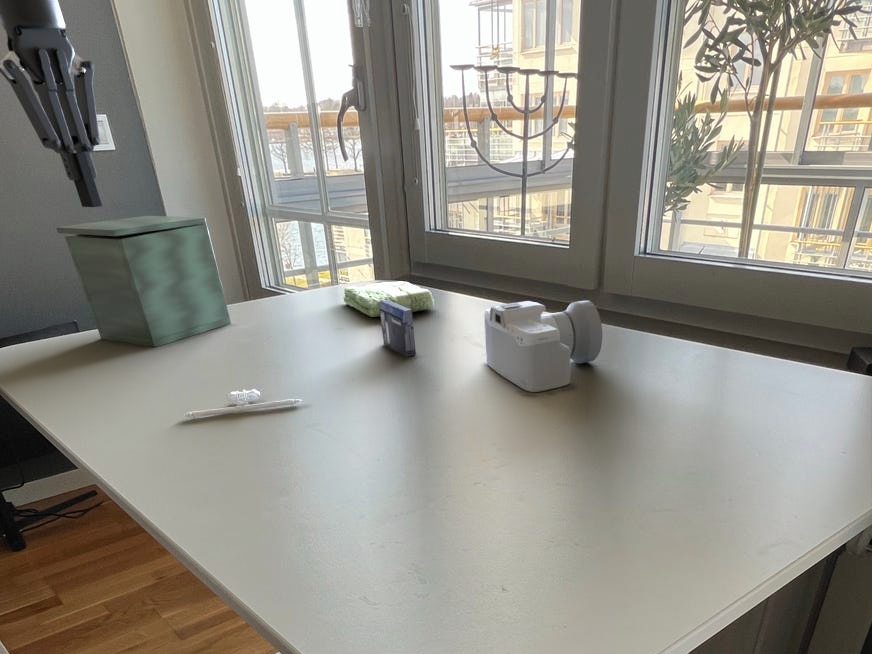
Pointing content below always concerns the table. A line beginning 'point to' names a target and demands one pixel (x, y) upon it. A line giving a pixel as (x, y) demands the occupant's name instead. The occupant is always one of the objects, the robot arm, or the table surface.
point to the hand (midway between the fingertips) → (92, 206)
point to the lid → (131, 225)
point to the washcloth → (387, 297)
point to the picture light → (242, 404)
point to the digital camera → (540, 342)
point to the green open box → (151, 284)
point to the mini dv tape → (397, 327)
